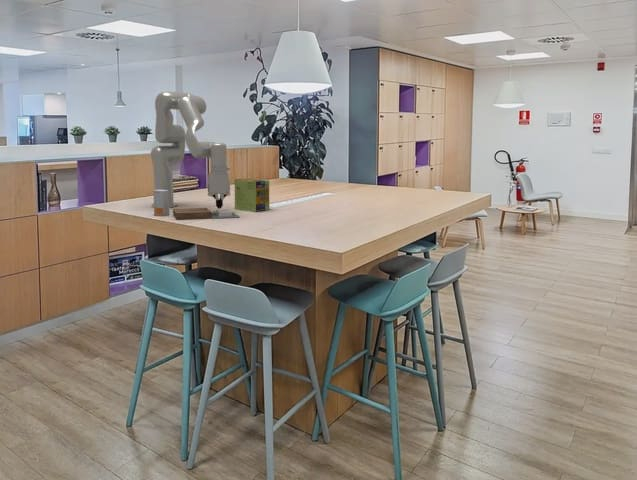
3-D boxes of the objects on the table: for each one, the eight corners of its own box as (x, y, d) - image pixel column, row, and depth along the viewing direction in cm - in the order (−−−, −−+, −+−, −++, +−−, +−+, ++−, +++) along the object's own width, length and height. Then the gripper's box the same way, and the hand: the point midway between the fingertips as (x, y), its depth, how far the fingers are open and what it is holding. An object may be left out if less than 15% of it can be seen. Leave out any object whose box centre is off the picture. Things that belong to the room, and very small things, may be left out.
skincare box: (153, 215, 265) (152, 190, 263) (159, 213, 269) (158, 189, 267) (164, 216, 263) (163, 190, 261) (169, 214, 267) (169, 190, 264)
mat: (206, 213, 273) (206, 212, 273) (232, 212, 277) (232, 211, 277) (212, 218, 258) (212, 218, 258) (239, 217, 262) (239, 216, 262)
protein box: (256, 212, 280) (255, 181, 277) (234, 209, 289) (234, 179, 286) (270, 210, 288) (270, 180, 285) (248, 207, 297) (248, 178, 294)
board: (173, 215, 266) (172, 209, 265) (206, 213, 272) (206, 207, 271) (176, 219, 253) (176, 213, 253) (211, 218, 259) (211, 212, 258)
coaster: (227, 209, 272) (228, 213, 273) (215, 209, 270) (215, 213, 270) (231, 211, 264) (231, 216, 264) (219, 212, 262) (219, 216, 262)
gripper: (232, 168, 269) (233, 206, 272) (201, 169, 263) (202, 207, 267) (236, 170, 262) (236, 208, 266) (204, 170, 257) (204, 209, 260)
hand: (219, 208), depth 266 cm, fingers closed
